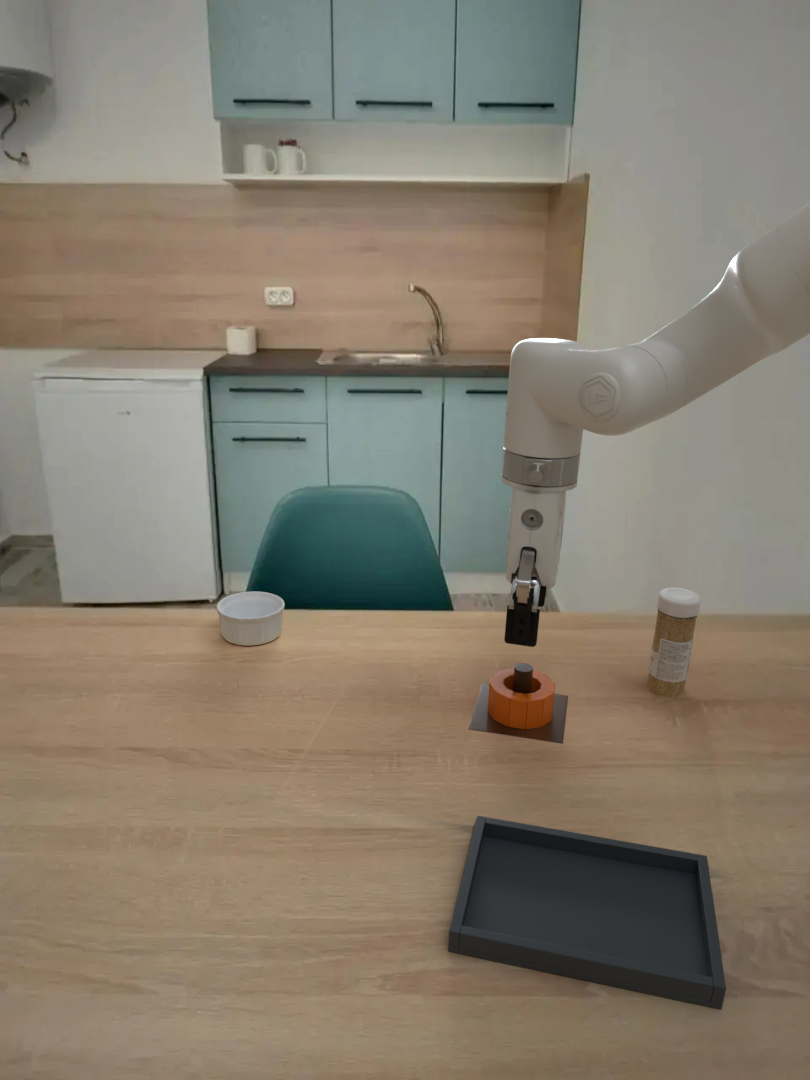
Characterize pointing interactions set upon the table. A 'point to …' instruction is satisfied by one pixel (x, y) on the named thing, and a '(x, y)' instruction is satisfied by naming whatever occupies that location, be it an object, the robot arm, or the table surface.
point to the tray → (590, 910)
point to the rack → (545, 733)
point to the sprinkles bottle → (672, 641)
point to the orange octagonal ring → (521, 701)
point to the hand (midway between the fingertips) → (525, 623)
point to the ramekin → (251, 617)
